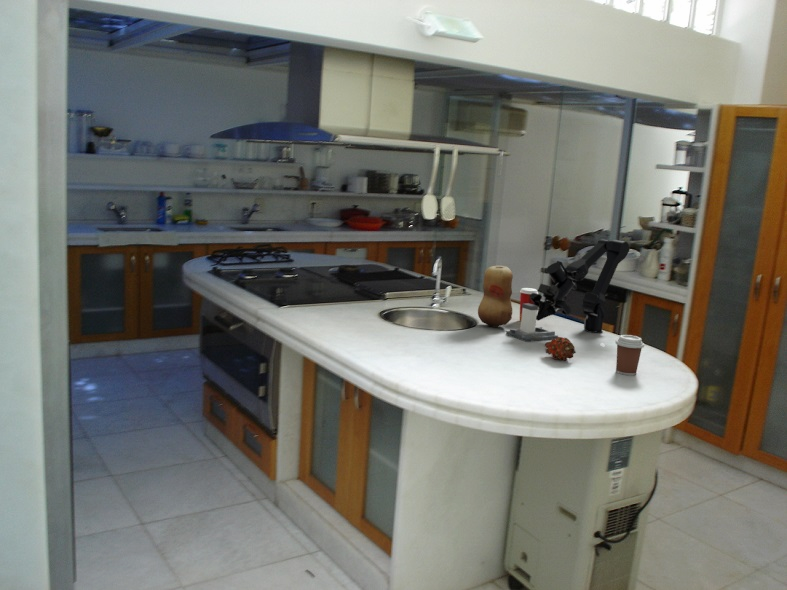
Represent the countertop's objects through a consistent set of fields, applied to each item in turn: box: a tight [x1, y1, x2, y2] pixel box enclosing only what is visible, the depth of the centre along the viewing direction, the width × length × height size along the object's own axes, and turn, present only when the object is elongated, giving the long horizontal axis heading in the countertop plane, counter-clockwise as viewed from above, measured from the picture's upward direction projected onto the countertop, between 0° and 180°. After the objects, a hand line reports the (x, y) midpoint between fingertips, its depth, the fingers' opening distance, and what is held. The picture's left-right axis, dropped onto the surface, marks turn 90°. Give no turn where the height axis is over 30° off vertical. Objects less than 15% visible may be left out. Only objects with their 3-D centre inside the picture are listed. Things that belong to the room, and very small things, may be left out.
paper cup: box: [519, 287, 539, 323], centre depth 308 cm, size 8×8×14 cm
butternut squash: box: [477, 265, 514, 328], centre depth 293 cm, size 14×13×25 cm
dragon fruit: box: [543, 336, 576, 362], centre depth 252 cm, size 8×8×12 cm
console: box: [505, 326, 559, 343], centre depth 282 cm, size 16×12×2 cm
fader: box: [517, 303, 539, 333], centre depth 280 cm, size 6×5×12 cm
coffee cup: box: [615, 334, 645, 376], centre depth 240 cm, size 9×9×12 cm
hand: (536, 319), depth 282 cm, fingers closed
